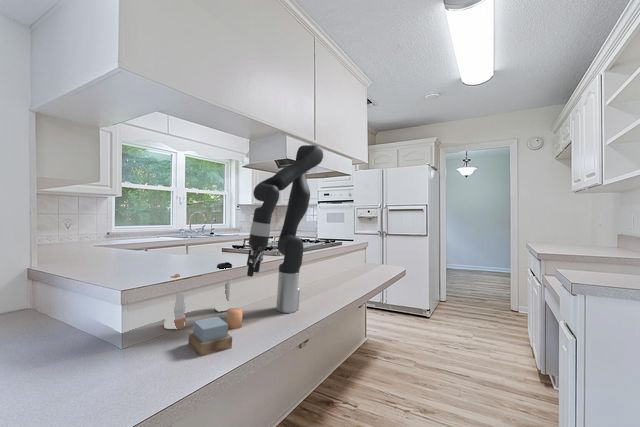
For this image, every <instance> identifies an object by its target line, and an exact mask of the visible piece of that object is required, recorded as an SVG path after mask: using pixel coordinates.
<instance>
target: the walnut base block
mask: <svg viewBox="0 0 640 427" xmlns="http://www.w3.org/2000/svg"><path fill="white" fill-rule="evenodd" d="M232 345H233V336H232V335H230V334H229V333H228V336H227V337H224V338H220V339H216V340H212V341H207V342H203V343H202V342H201V341H200V340H199V339H198V338H197V337H196V336H195V335H194V334H193V331H192V332H189V333H188V346H190V348H192V349H193V350H194V351H195V353H196V354H197V355H198V356H200V357H204V356H208V355H211V354H214V353H215V354H216V353H219V352H222V351H225V350H230V349H232V347H233V346H232Z"/></svg>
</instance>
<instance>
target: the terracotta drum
mask: <svg viewBox="0 0 640 427" xmlns="http://www.w3.org/2000/svg"><path fill="white" fill-rule="evenodd" d="M243 311H244V310H243V309H242V308H240V307H232V308H231V307H230V308H229V309H228V310H227V311H226V323H227V324H228V330H238V329H240V328H242V325H243Z"/></svg>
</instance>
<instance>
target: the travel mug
mask: <svg viewBox="0 0 640 427" xmlns="http://www.w3.org/2000/svg"><path fill="white" fill-rule="evenodd" d="M217 268H219V269H224V268H225V269H226V268H232V269H233V264H232V263H230V262H227V261H225V262H221V263H218V264H217V265H216V269H217ZM230 287H231V288H232V281H231V282H230V281H229V282H227V283H226V284H225V289H226V290H225V294H226V299H227V301H229V297H230V298H231V292H230Z"/></svg>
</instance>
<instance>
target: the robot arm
mask: <svg viewBox="0 0 640 427" xmlns="http://www.w3.org/2000/svg"><path fill="white" fill-rule="evenodd" d="M323 158H324V150H323V149H322V148H321V146H319V145H316V144H314V145H313V144H308V145H307V144H305V145H300V146H299V147H298V149H297V151H296V157H295V162H293V163H291V164H289V165H286V166H284V167H282V168H281V169H280V170H279V171H278V172H276V173H275V174H274V175H273V176H271V177H269V178H266V179H265V180H263V181H260V182H259V183H258V184H256V186H255V187H254V189H253V197H254V199H255V200H256V201H259V202H262V205H261V206H259V207H256V208H255V209H254V212H253V217H252V223H251V226H250V232H249V238H248V245H249V246H252V248H251V249H249V250H248V256H247V261H246V266H248V267H247V273H246V277H249V278H250V277H251V278H252V277H254V273H256V274H257V273H258V274H259V272H260V267H261V264H262V262H263V260H264V253H265V248H267V247H268V245H269V244H268V243H269V238H270V232H271V223H272V222H271V221H272V217H273V216H272V215H273V212H274V210H275V208H276V206H277V203H278V202H279V200H280V191H283V190H285V189H286V188H287V187H289V186H290V185H291V188H290V193H289V196H288V197H289V198H288V200H287V201H288V202H287V207H286V212H285V216H284V221H283V224H282V228H281V231H280V234H279V237H278V241H277V249H278V252H279V253H280V254H281V255H284V256H283V262H282V263H280V264H279V266H278V276H277V278H278V279H277V290H276V307H275V310H276V311H277V312H279V313H285V314H288V313H289V314H291V313H294V312H295V313H296V312H297V311H299V310H300V309H299V308H300V297H301V296H300V295H301V294H300V293H301V289H300V288H299V286H300V284H299V283H300V282H299V281H300V269H301V267H302V264H303V256H304V242H303V240H302V239H301V238H300V237H298V236H297V230H298V227H299V224H300V223H301V221H302V219H303V218H304V216H305V215H306V213H307V212H308V208H309V203H310V199H311V192H310V191H311V190H310V187H309V183H308V180H307V172H308V171H310V170H312V169H313V168H315V167H317V166H318V165H320V164H321V163H322V161H323Z"/></svg>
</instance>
